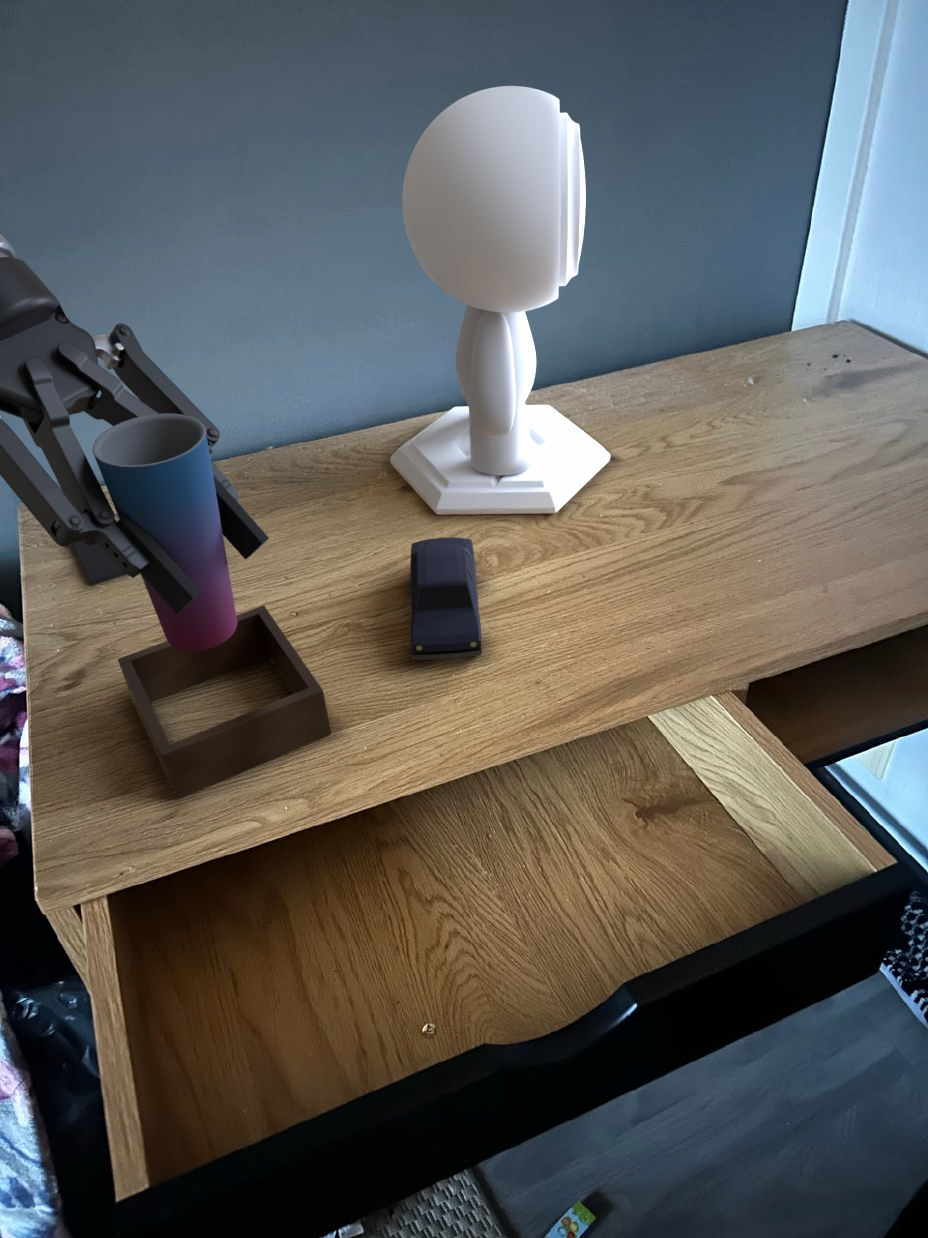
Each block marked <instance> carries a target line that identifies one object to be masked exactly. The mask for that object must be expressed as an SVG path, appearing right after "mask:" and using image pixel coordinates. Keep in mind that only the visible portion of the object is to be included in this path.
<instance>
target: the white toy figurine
mask: <svg viewBox="0 0 928 1238" xmlns="http://www.w3.org/2000/svg"><path fill="white" fill-rule="evenodd" d="M560 107H561V106H560V98H558V97H557V96H555V95H554V94H552V93H549V92H546V91H544V90H540V89H538V88H533V87H528V86H522V85H521V86H519V85H504V86H503V85H502V86H495V87H488V88H485V89H481V90H478V91H475V92H472V93H470V94H468V95H466V96H464V97H462V98H459V99H458V100H456V101H454V103H452V104H450V105H449V106H447V107H446V108H445V109H444V110H443V111H441V112H440V113H439V114H438V115H437V116H436V117H435V118H434V119H433V120H432V121H431V122H430V123H429V124H428V126H427V127H426V128H425V130H424V131H423V133H422V134H421V135H420V137H419V139H418V141H417V142H416V144H415V146H414V148H413V150H412V152H411V155H410V157H409V160H408V162H407V165H406V168H405V173H404V179H403V184H402V193H401V209H402V219H403V224H404V225H403V226H404V230H405V234H406V237H407V241H408V243H409V246H410V248H411V250H412V253H413V255H414V256H415V258H416V260H417V262H418V264H419V265H420V267H421V268H422V269H423V271H424V272H425V274H426V275H427V276H428V277H429V279H430V280H431V281H432V282H433V283H434V284H435V285H436V286H437V287H438V288H439V289H441V290H442V291H443V292H444V293H446V294H447V295H448V296H450V297H452V298H453V299H455V300H456V301H459V302H460V303H463V304H464V305H466V306H465V309H464V312H463V317H462V320H461V326H460V329H459V335H458V340H457V345H456V350H455V373H456V377H457V380H458V385H459V389H460V391H461V393H462V395H463V397H464V400H465V401H466V404H467V406H454V407H452V408H451V409H449V410H448V411H447V412H446V413H444V414H443V415H442V416H441V415H440V417H438V418H437V419H436V420H434V421H433V422H431V423H430V424H429V425H428V426H426V427H425V428H424V429H422V430H421V431H420V432H418V433H417V434H415V435H414V436H413V437H411V438H409V440H407V441H406V442H404V443H403V444H402V445H401V446H399V447H398V448H397V449H396V451H394V453H393V454H392V455H391V456H390V457H389V462H390V465H391V466H392V467H393V468H394V469H395V470H396V471H397V472H398V473H399V475H400V476H401V477H402V478H403V479H404V480H405V481H406V483H407V484H408V485H409V486H410V487H411V488H412V489H413V490H414V491H415V492H416V493H417V495H418V496H419V497H420V498H421V499H422V500H423V501H424V502H425V503H426V504H427V505H428V507H429V508H430V509H431V510H432V511H433V512H434V513H435V514H436V515H520V514H521V515H522V514H525V515H527V514H529V515H531V514H534V515H535V514H537V515H538V514H556V513H558V511H559V510H560V509H562V508H563V506H565V504H567V503H568V502H569V501H570V500H571V499H572V498H573V497H574V496H575V495H576V494H577V493H578V492H579V491H580V490H581V489H582V488H583V487H584V486H585V485H586V484H587V483H589V481H590V480H591V479H592V478H594V477H595V476H596V474H598V472H599V471H600V470H601V469H603V468H604V466H606V465H607V464H608V463H609V462H610V461H611V454H610V452H609V451H607V450H606V449H605V448H604V446H603V445H601V443H599V442H598V441H596V440H595V439H594V438H592V437H591V436H590V435H589V434H588V433H586V432H584V430H582V429H581V428H580V427H578V426H577V425H576V424H575V423H573V422H572V421H570V419H568V418H567V417H565V416H564V415H562V414H561V413H560V412H559V411H558V410H556V409H555V408H554V407H552V406H551V405H549V404H530V405H529V404H526V400H527V399H528V397H529V395H530V393H531V390H532V388H533V386H534V382H535V379H536V370H537V354H536V348H535V343H534V342H535V341H534V338H533V335H532V332H531V328H530V324H529V321H528V318H527V315H526V312H528V311H532V310H536V309H539V308H542V307H544V306H547V305H550V304H552V303H553V302H555V301H556V300H558V299H559V293H560V292H559V289H560V287H566V286H567V285H568V283H569V281H570V280H571V279H572V278H574V277H576V276H577V275H578V274H579V263H580V260H581V259H580V258H581V255H582V247H583V241H584V233H585V223H586V203H587V202H586V201H587V200H586V199H587V198H586V197H587V196H586V175H585V174H586V172H585V162H584V153H583V147H582V141H581V127H580V123H578V122H576V121H573V120H572V119H571V117H570V115H569V114H568V112H561V111H560V109H561V108H560Z"/></svg>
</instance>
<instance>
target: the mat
mask: <svg viewBox="0 0 928 1238" xmlns="http://www.w3.org/2000/svg"><path fill="white" fill-rule="evenodd" d="M71 546H72V547H73V549H74V551H75V554H76V555H77V558H78V560H79V562H80V564H81V566H82V569H83V571H84V573H85V575H86V577H87V579H88V581H89V583H90V585H91V586H94V585H97V584H100V583H103V582H106V581H108V580H111V579H114V578H117V577H118V578H119V577H120V576H124V575H126V574H125V573H124V572H123V571H122V569H121V568H120V567H119V566H118V565H117V564H116V563H115V561H113V560H112V558H111V557H110V556H109V555H108V554H107V553H106V552H105V551H104V550H103V549H102V548H101V546H100V545H99V544H95V545H87V544H85V543H84V542H83V541H78V542H74V543H73V544H71Z"/></svg>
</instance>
